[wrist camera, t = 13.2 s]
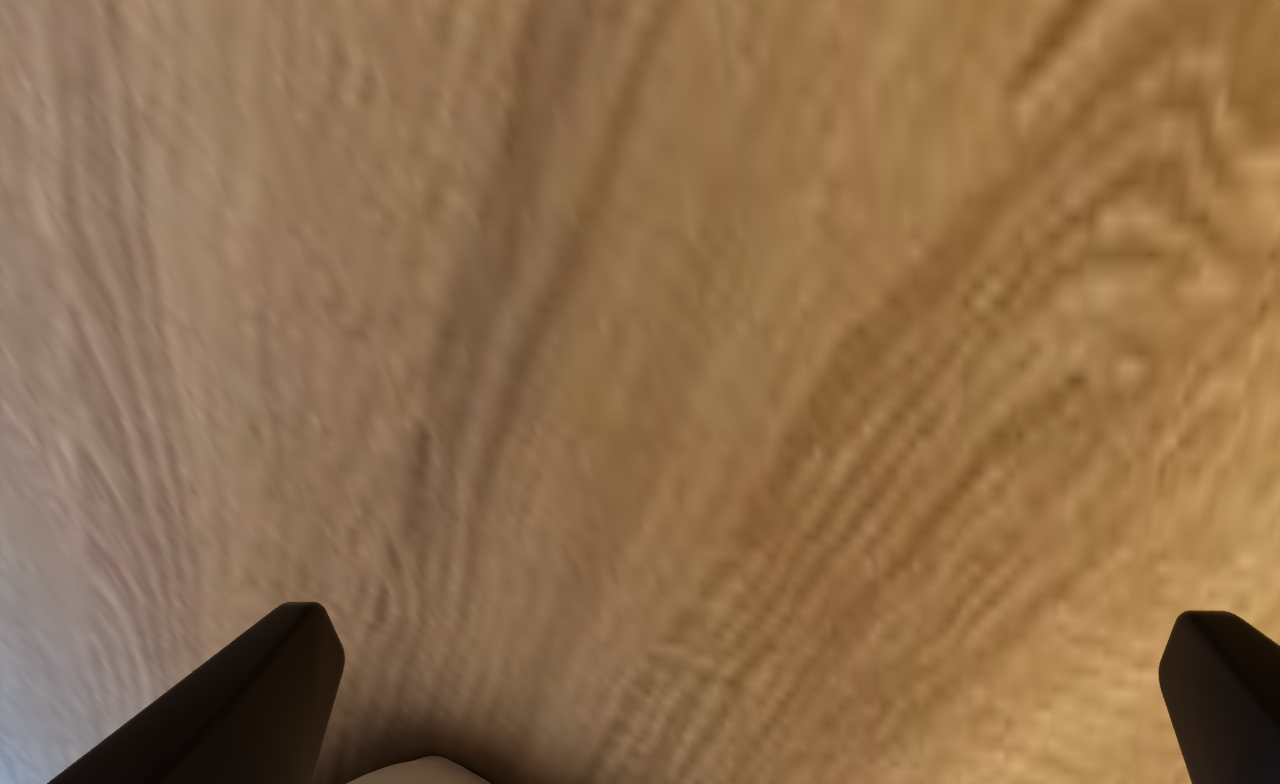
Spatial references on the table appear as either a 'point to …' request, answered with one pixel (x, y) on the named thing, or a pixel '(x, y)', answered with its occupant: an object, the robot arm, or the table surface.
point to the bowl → (422, 773)
